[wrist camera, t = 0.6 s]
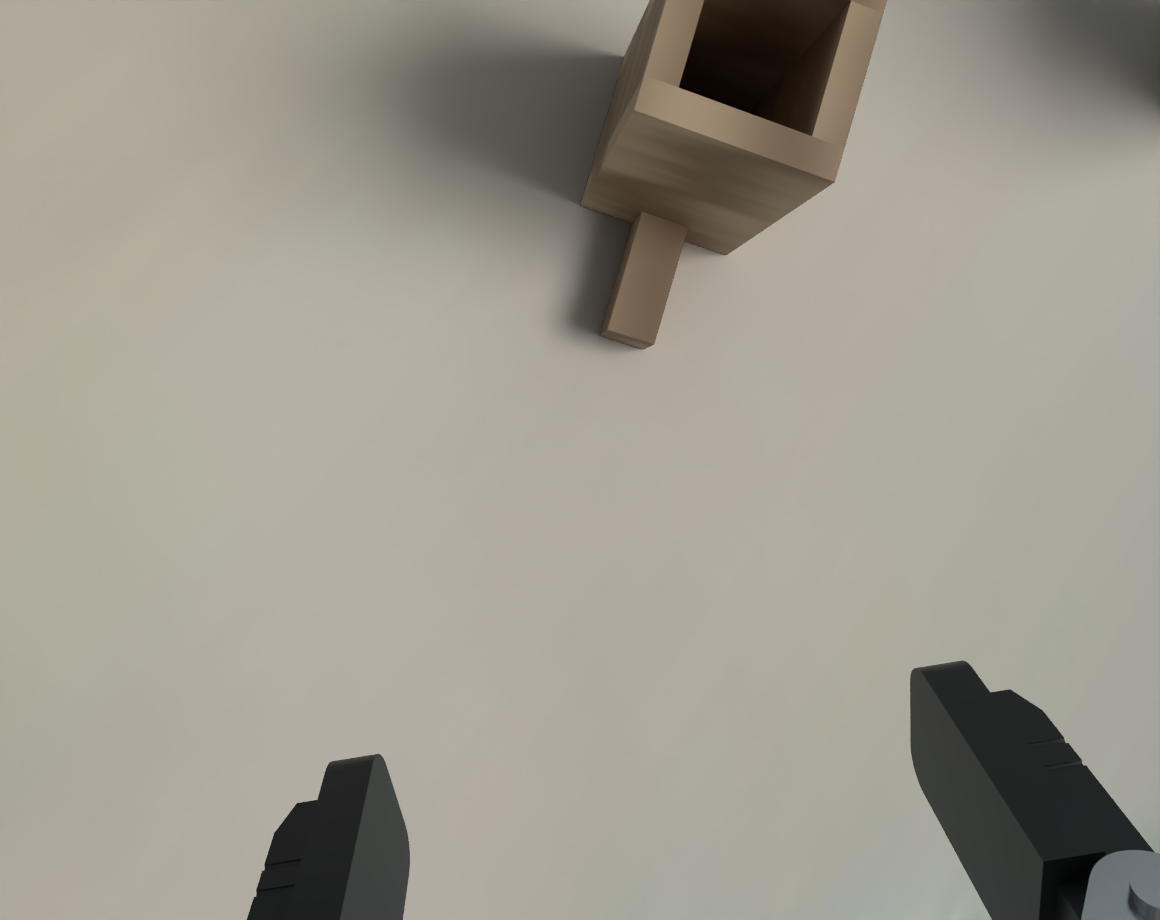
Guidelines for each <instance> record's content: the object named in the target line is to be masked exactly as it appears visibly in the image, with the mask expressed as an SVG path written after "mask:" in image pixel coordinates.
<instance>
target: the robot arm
mask: <svg viewBox="0 0 1160 920" xmlns="http://www.w3.org/2000/svg"><path fill="white" fill-rule="evenodd" d="M910 708H911V754H912V760H913V765H914V769H915V772H916V775H917V778H918V781H919V784H920V786H921V789H922V791H923V793H924V794H925V796H926V798H927V800H928V802H929V804H930V806H931V807H932V809H933V811H934V813H935V815H936V817H937V818H938V820H939V822H940V824H941V826H942V828H943V830H944V831H945V833H946V835H947V837H948V839H949V841H950V843H951V844H952V846H953V848H954V850H955V852H956V854H957V856H958V857H959V859H960V861H961V863H962V865H963V867H964V868H965V870H966V872H967V874H968V876H969V878H970V880H971V881H972V883H973V885H974V887H975V889H976V891H977V893H978V894H979V896H980V898H981V900H982V902H983V904H984V905H985V907H986V909H987V911H988V913H989V915H990V917H991V918H992V920H1160V854H1159V853H1155V852H1154V851H1153V850H1152V848H1151V847H1150V846H1149V845H1148V844H1147V842H1146V841H1145V840H1144V838H1143V837H1142V836H1141V835H1140V833H1139V832H1138V831H1137V830H1136V828H1135V827H1134V826H1133V825H1132V823H1131V822H1130V821H1129V819H1128V818H1127V817H1126V816H1125V814H1124V813H1123V812H1122V811H1121V809H1120V808H1119V807H1118V806H1117V804H1116V803H1115V802H1114V800H1113V799H1112V798H1111V797H1110V795H1109V794H1108V793H1107V792H1106V790H1105V789H1104V788H1103V786H1102V785H1101V784H1100V783H1099V781H1098V780H1097V779H1096V778H1095V776H1094V775H1093V774H1092V773H1091V771H1090V770H1089V769H1088V767H1087V766H1083V764H1082V761H1081V759H1080V757H1079V756H1078V755H1077V754H1076V752H1075V751H1074V750H1073V748H1072V747H1071V746H1070V745H1069V743H1065V741H1064V737H1063V736H1062V734H1061V733H1060V732H1059V731H1058V729H1057V728H1056V727H1055V726H1054V724H1053V723H1052V722H1051V721H1050V719H1049V718H1048V717H1047V715H1046V714H1045V713H1044V712H1043V711H1042V710H1041V709H1039V708H1038V707H1036V706H1035V705H1033V704H1032V703H1030V702H1029V701H1027V700H1026V699H1024V698H1022V697H1021V696H1019V695H1018V694H1016V693H1015V692H1013V691H1012V690H1004V691H997V692H991V693H990V692H989V690H988V689H987V687H986V686H985V685H984V683H983V682H982V681H981V679H980V678H979V676H978V675H977V674H976V672H975V671H974V670H973V668H972V667H971V666H970V665H969V664H968V663H967V662H965V661H957V662H951V663H945V664H938V665H932V666H926V667H920V668H915V669H913V670H912V673H911V678H910ZM409 868H410V851H409V841H408V834H407V830H406V826H405V822H404V819H403V816H402V813H401V810H400V807H399V804H398V801H397V797H396V794H395V791H394V788H393V785H392V782H391V779H390V776H389V772H388V769H387V766H386V763H385V761H384V759H383V757H382V756H381V755H380V754H375V755H369V756H363V757H357V758H350V759H344V760H338V761H332V762H330V763H329V764H328V766H327V768H326V771H325V775H324V778H323V782H322V786H321V789H320V793H319V797H318V800H314V801H308V802H302V803H297V804H296V805H295V807H294V808H293V809H292V811H291V812H290V813H289V815H288V816H287V817H286V819H285V820H284V821H283V823H282V824H281V825H280V827H279V828H278V829H277V830H276V832H275V833H274V836H273V839H272V843H271V846H270V849H269V852H268V855H267V858H266V861H265V871H262V874H261V877H260V880H259V883H258V887H257V890H256V891H257V896H256V897H254V899H253V902H252V905H251V909H250V912H249V915H248V918H247V920H403V913H404V906H405V898H406V891H407V884H408V877H409Z"/></svg>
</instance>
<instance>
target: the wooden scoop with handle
mask: <svg viewBox="0 0 1160 920" xmlns="http://www.w3.org/2000/svg"><path fill="white" fill-rule="evenodd" d="M886 2H887V0H650V1H649V3H648V6H647V8H646V10H645V12H644V14H643V17H642V19H641V21H640V23H639V25H638V27H637V30H636V32H635V34H634V36H633V38H632V41H631V43H630V45H629V47H628V49H627V51H626V54H625V56H624V59H623V63H622V66H621V69H620V73H619V76H618V80H617V83H616V86H615V90H614V93H613V96H612V100H611V103H610V107H609V110H608V113H607V117H606V120H605V124H604V127H603V130H602V134H601V137H600V141H599V144H598V147H597V151H596V154H595V158H594V161H593V164H592V168H591V171H590V174H589V178H588V181H587V185H586V188H585V191H584V195H583V198H582V202H581V205H580V206H583V207H586V208H589V209H592V210H595V211H597V212H600V213H603V214H606V215H609V216H612V217H615V218H618V219H621V220H624V221H627V222H630V223H632V226H631V229H630V233H629V236H628V239H627V243H626V246H625V250H624V253H623V256H622V260H621V263H620V267H619V270H618V274H617V277H616V280H615V284H614V287H613V291H612V294H611V297H610V301H609V304H608V308H607V311H606V314H605V318H604V321H603V325H602V328H601V332H600V336H603V337H606V338H609V339H612V340H615V341H618V342H622V343H625V344H628V345H631V346H634V347H637V348H640V349H646V348H648V347H650V346H652V345H654V343H655V340H656V336H657V333H658V329H659V326H660V322H661V319H662V316H663V312H664V309H665V305H666V302H667V298H668V295H669V292H670V288H671V285H672V281H673V278H674V274H675V271H676V268H677V264H678V261H679V257H680V254H681V250H682V247H683V244H684V241H686V242H689V243H692V244H695V245H698V246H701V247H704V248H707V249H710V250H712V251H715V252H718V253H721V254H724V255H727V254H729V253H730V252H732V251H733V250H735V249H736V248H738V247H739V246H741V245H742V244H744V243H745V242H747V241H748V240H750V239H751V238H752V237H754V236H755V235H757V234H758V233H760V232H761V231H763V230H764V229H766V228H767V227H769V226H770V225H772V224H773V223H775V222H776V221H778V220H779V219H781V218H782V217H784V216H785V215H787V214H788V213H790V212H791V211H792V210H794V209H795V208H797V207H798V206H800V205H801V204H803V203H804V202H806V201H807V200H809V199H810V198H812V197H813V196H815V195H816V194H818V193H819V192H821V191H822V190H824V189H825V188H827V187H828V186H829V185H831V184H832V183H834V182H835V179H836V176H837V172H838V169H839V165H840V162H841V159H842V155H843V152H844V148H845V145H846V141H847V138H848V134H849V131H850V127H851V124H852V120H853V117H854V113H855V110H856V106H857V103H858V99H859V96H860V92H861V89H862V86H863V82H864V79H865V75H866V72H867V68H868V65H869V61H870V58H871V54H872V51H873V47H874V44H875V40H876V37H877V33H878V30H879V26H880V23H881V20H882V16H883V13H884V9H885V6H886Z"/></svg>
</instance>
